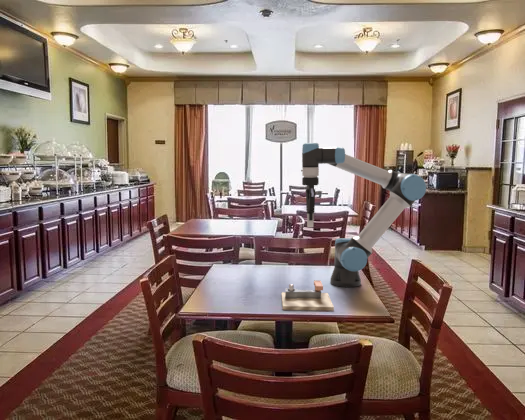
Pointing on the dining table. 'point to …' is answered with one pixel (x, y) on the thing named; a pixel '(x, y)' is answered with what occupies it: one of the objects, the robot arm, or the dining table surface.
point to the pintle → (291, 288)
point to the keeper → (318, 285)
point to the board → (307, 303)
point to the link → (303, 294)
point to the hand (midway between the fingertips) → (310, 227)
